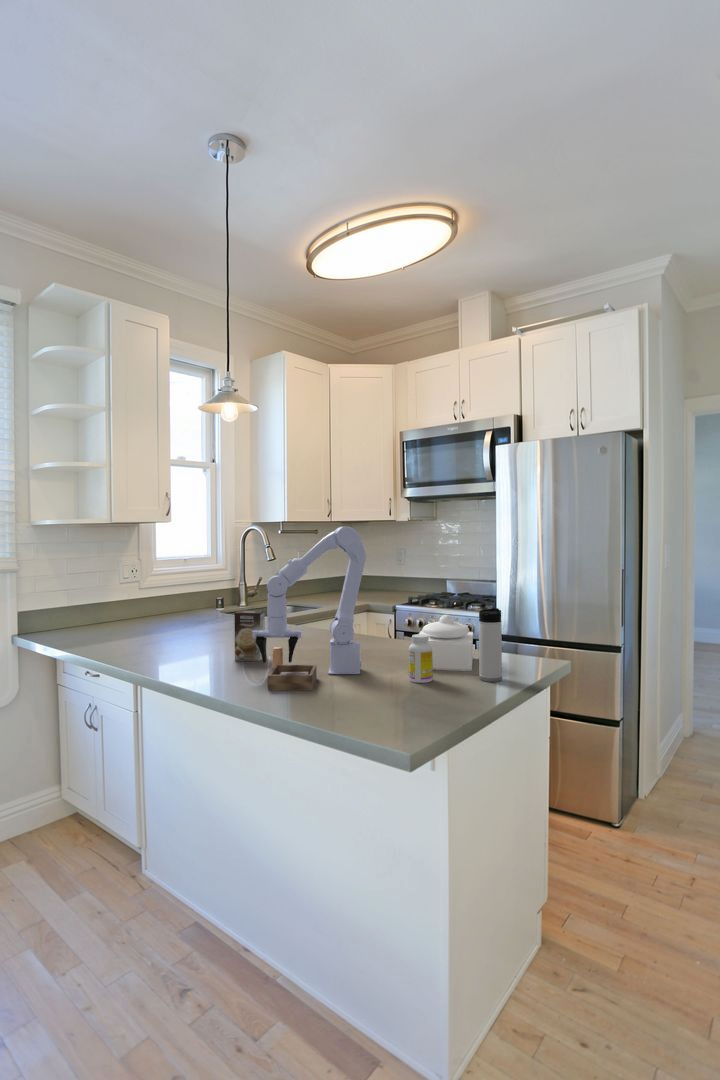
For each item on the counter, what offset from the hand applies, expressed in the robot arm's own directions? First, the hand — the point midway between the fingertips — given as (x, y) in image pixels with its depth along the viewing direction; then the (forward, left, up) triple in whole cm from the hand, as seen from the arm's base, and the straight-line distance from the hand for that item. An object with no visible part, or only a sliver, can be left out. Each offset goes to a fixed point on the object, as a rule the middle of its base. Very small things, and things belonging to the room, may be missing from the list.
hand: (277, 661), depth 172 cm
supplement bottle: (-42, +7, -4) cm, 43 cm away
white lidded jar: (-52, -14, -4) cm, 53 cm away
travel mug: (-62, +6, -4) cm, 63 cm away
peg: (0, 0, -4) cm, 4 cm away
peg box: (-6, +10, -4) cm, 13 cm away
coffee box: (+13, -22, -4) cm, 25 cm away
